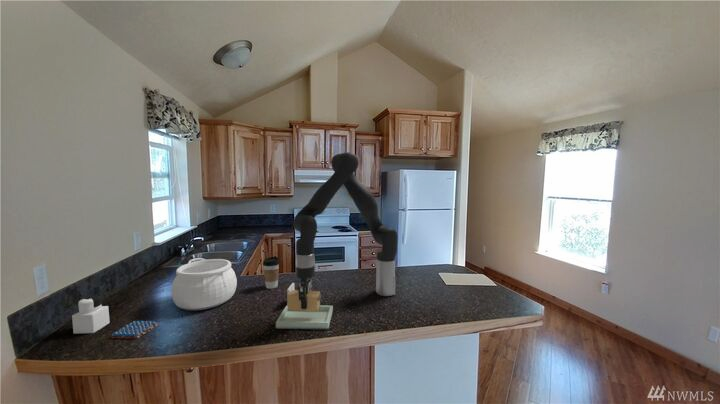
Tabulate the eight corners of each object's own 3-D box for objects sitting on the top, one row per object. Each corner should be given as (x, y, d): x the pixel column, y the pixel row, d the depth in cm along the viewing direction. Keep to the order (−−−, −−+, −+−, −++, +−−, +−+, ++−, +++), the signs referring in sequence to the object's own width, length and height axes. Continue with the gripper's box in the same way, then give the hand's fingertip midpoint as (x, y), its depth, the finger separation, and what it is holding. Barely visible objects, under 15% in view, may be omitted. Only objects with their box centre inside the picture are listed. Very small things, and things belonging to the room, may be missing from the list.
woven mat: (160, 324, 105) (160, 319, 105) (137, 340, 95) (137, 335, 95) (134, 324, 106) (134, 319, 106) (109, 340, 95) (108, 334, 95)
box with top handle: (321, 305, 110) (321, 291, 110) (319, 311, 105) (318, 296, 105) (291, 304, 111) (291, 290, 111) (287, 310, 106) (287, 295, 106)
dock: (310, 299, 127) (310, 283, 126) (306, 307, 118) (306, 290, 118) (292, 299, 127) (292, 282, 126) (287, 307, 119) (287, 289, 118)
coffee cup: (283, 284, 144) (282, 257, 143) (272, 290, 137) (271, 262, 135) (271, 282, 148) (270, 255, 147) (259, 288, 140) (259, 260, 139)
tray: (332, 311, 115) (332, 305, 115) (328, 329, 101) (328, 322, 101) (286, 310, 116) (286, 305, 116) (275, 328, 102) (275, 322, 102)
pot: (247, 300, 126) (246, 264, 124) (182, 322, 106) (179, 280, 105) (224, 284, 145) (222, 253, 144) (165, 300, 126) (163, 264, 125)
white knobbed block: (90, 323, 105) (88, 294, 104) (110, 323, 106) (107, 293, 105) (72, 334, 98) (70, 302, 97) (93, 333, 99) (91, 301, 98)
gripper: (310, 270, 99) (311, 314, 101) (317, 259, 114) (318, 297, 115) (290, 270, 100) (291, 314, 101) (300, 259, 114) (300, 297, 115)
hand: (305, 305), depth 108 cm, fingers closed on box with top handle, 5 cm apart
